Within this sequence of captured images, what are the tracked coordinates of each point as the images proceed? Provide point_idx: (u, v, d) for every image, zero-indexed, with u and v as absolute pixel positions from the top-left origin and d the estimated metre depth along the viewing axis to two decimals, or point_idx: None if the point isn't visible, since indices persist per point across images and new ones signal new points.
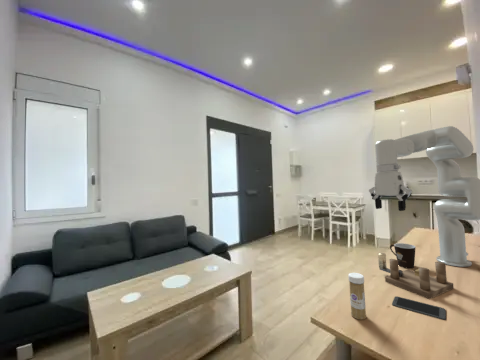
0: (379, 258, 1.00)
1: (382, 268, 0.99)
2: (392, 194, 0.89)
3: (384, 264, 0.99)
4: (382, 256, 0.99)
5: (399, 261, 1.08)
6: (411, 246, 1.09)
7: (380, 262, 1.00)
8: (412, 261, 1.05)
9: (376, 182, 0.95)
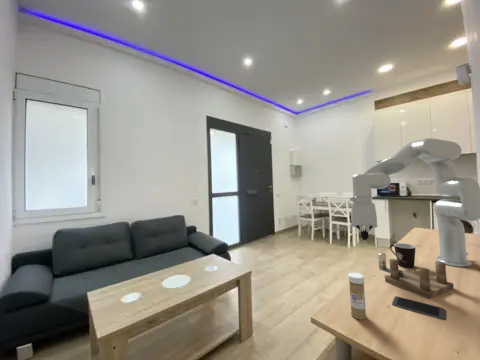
0: (379, 258, 1.00)
1: (382, 268, 0.99)
2: None
3: (384, 264, 0.99)
4: (382, 256, 0.99)
5: (399, 261, 1.08)
6: (411, 246, 1.09)
7: (380, 262, 1.00)
8: (412, 261, 1.05)
9: None
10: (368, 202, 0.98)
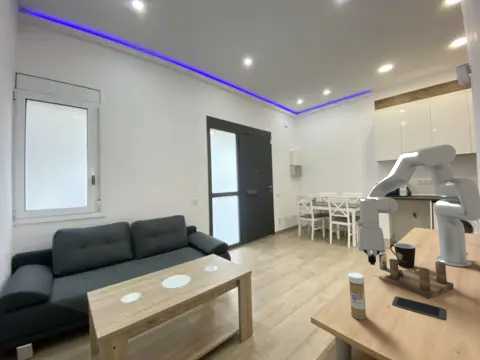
0: (379, 258, 1.00)
1: (382, 268, 1.00)
2: None
3: (384, 264, 0.99)
4: (382, 256, 0.99)
5: (399, 261, 1.08)
6: (411, 246, 1.09)
7: (380, 262, 1.00)
8: (412, 261, 1.05)
9: None
10: (376, 227, 0.98)
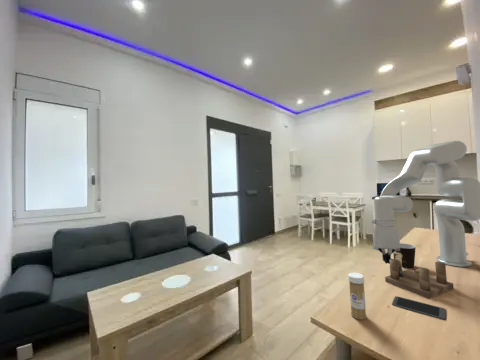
0: None
1: None
2: None
3: None
4: (394, 255, 1.00)
5: None
6: (411, 246, 1.09)
7: None
8: (412, 261, 1.05)
9: None
10: (391, 226, 0.98)
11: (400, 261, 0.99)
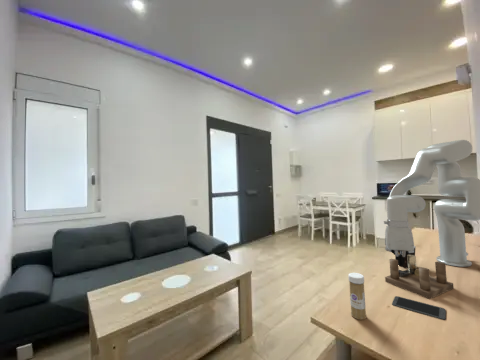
0: None
1: None
2: None
3: (408, 265, 0.96)
4: (407, 257, 0.97)
5: None
6: None
7: None
8: None
9: None
10: (405, 227, 0.95)
11: (412, 264, 0.95)
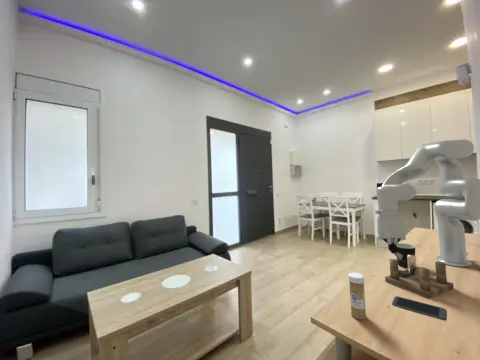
0: None
1: None
2: None
3: (408, 265, 0.96)
4: (407, 257, 0.97)
5: (399, 261, 1.08)
6: (411, 246, 1.09)
7: None
8: None
9: None
10: (395, 215, 0.97)
11: (412, 264, 0.95)
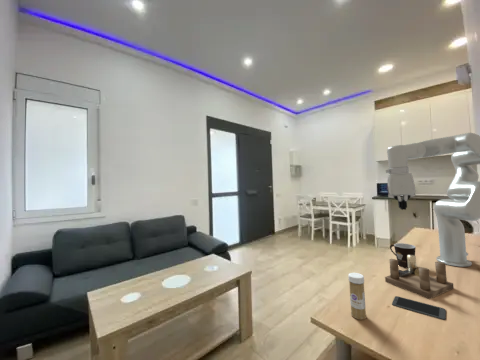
0: None
1: None
2: None
3: (408, 265, 0.96)
4: (407, 257, 0.97)
5: (399, 261, 1.08)
6: (411, 246, 1.09)
7: None
8: None
9: None
10: (406, 172, 1.01)
11: (412, 264, 0.95)
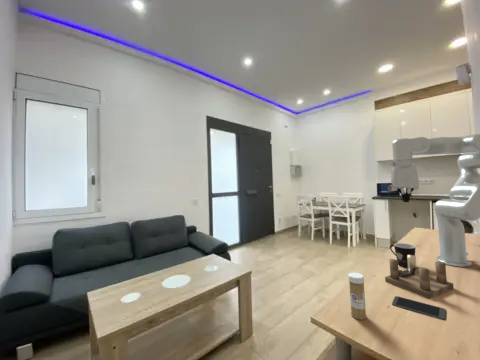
0: None
1: None
2: None
3: (408, 265, 0.96)
4: (407, 257, 0.97)
5: (399, 261, 1.08)
6: (411, 246, 1.09)
7: None
8: None
9: None
10: (410, 165, 1.02)
11: (412, 264, 0.95)
